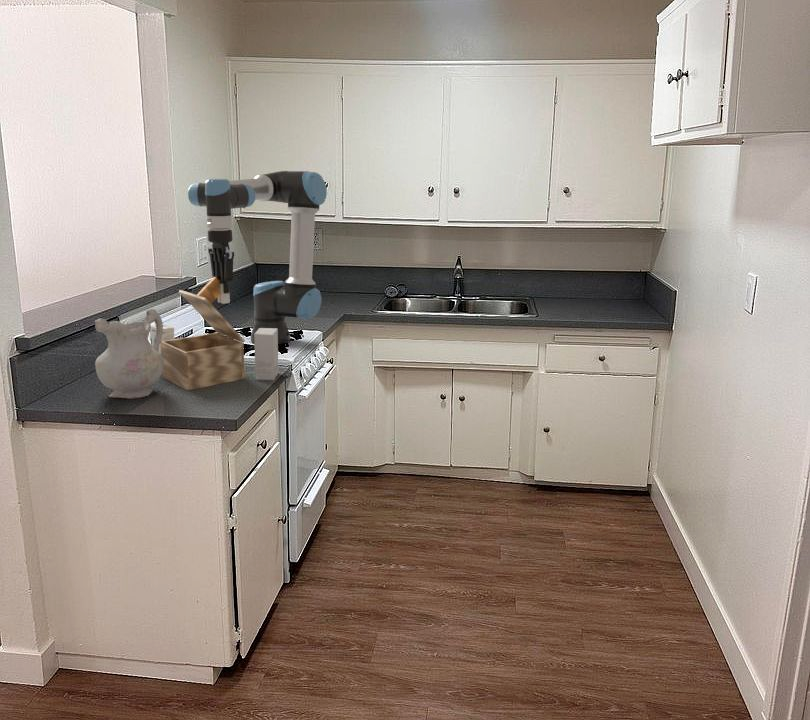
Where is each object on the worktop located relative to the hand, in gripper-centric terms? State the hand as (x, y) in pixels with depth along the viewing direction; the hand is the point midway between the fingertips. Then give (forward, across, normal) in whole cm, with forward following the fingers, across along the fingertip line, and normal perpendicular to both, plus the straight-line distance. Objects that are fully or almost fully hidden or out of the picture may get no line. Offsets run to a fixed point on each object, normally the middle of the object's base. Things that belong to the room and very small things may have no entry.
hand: (223, 302), depth 246 cm
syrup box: (+24, -19, -14) cm, 34 cm away
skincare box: (+24, +12, +8) cm, 28 cm away
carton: (+24, 0, -9) cm, 26 cm away
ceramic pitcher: (+24, +1, -32) cm, 40 cm away
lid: (+4, 0, -5) cm, 6 cm away
